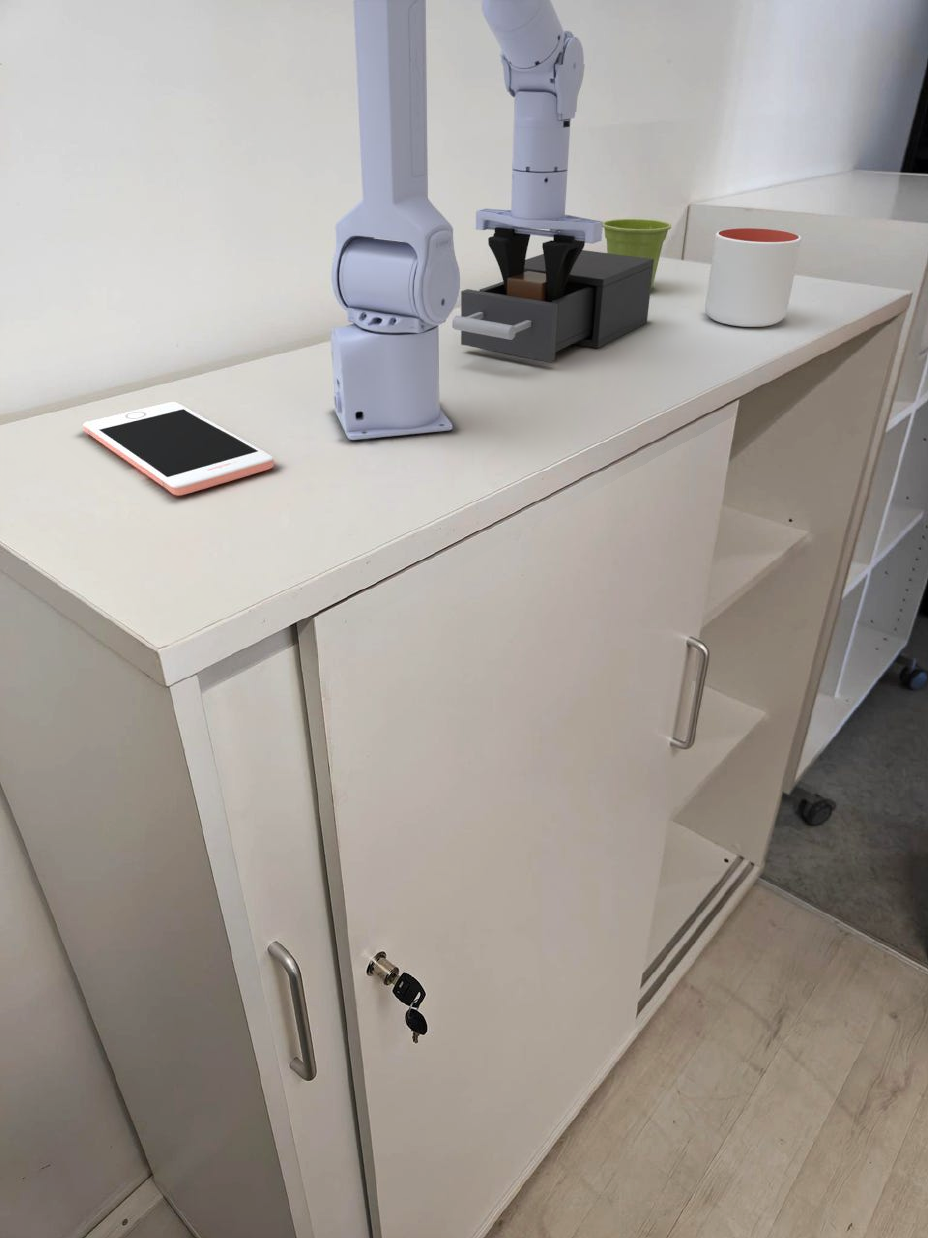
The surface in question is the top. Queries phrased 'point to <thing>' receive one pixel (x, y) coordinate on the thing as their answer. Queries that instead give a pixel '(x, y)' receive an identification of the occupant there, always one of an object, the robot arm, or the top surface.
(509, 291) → the block
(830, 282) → the top surface
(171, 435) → the cell phone
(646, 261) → the cabinet
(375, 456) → the top surface
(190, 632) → the top surface
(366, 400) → the robot arm
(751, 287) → the cup
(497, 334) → the drawer
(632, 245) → the plant pot
